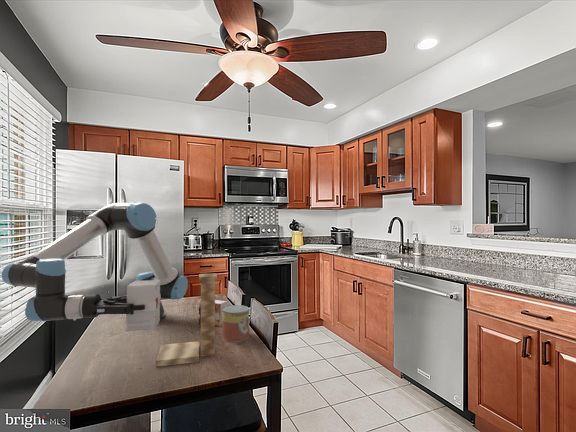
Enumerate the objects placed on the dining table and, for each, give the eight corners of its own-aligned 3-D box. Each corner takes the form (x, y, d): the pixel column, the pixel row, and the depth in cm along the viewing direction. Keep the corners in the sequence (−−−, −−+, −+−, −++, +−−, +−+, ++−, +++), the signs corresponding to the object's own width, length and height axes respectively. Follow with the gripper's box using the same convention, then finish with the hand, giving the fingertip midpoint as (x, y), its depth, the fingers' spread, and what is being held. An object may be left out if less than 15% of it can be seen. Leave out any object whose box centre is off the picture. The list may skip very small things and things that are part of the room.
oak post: (198, 357, 114) (199, 276, 114) (198, 350, 120) (199, 273, 121) (216, 355, 116) (217, 276, 116) (215, 348, 122) (216, 273, 122)
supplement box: (155, 330, 104) (155, 284, 104) (125, 331, 102) (125, 285, 102) (160, 321, 113) (160, 279, 113) (133, 322, 111) (133, 280, 111)
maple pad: (156, 366, 107) (156, 360, 107) (161, 349, 120) (161, 344, 120) (198, 361, 111) (198, 356, 111) (199, 346, 124) (199, 341, 124)
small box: (206, 324, 150) (206, 302, 150) (213, 320, 156) (213, 299, 156) (220, 326, 147) (220, 303, 147) (227, 322, 153) (227, 300, 153)
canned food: (236, 344, 126) (237, 314, 127) (216, 338, 132) (216, 309, 132) (254, 335, 136) (254, 307, 136) (234, 330, 142) (234, 303, 142)
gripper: (96, 308, 114) (162, 304, 119) (70, 329, 92) (152, 323, 98) (96, 287, 114) (162, 284, 119) (70, 303, 92) (153, 299, 98)
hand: (158, 301), depth 108 cm, fingers closed on supplement box, 9 cm apart
